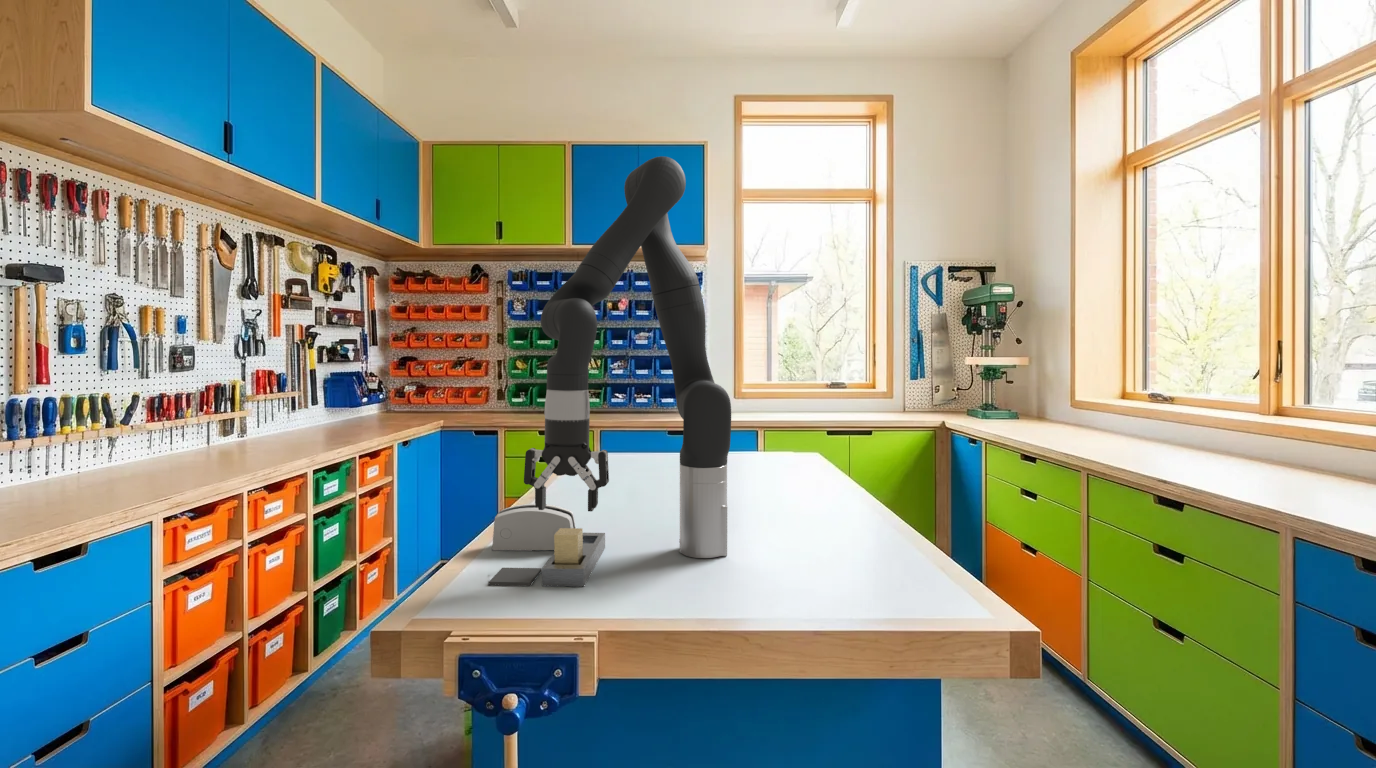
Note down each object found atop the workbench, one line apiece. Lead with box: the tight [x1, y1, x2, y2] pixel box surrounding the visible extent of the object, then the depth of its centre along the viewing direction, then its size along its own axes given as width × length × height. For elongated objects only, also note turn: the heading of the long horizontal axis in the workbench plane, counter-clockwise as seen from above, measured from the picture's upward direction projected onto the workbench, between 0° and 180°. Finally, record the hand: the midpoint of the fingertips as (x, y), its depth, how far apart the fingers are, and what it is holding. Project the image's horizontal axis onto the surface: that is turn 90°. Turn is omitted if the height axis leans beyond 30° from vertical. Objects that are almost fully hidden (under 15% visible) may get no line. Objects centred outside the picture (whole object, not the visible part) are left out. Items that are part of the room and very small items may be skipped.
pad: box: [488, 567, 542, 587], centre depth 109 cm, size 7×7×1 cm
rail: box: [541, 532, 606, 588], centre depth 116 cm, size 7×21×3 cm, turn 178°
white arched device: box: [491, 503, 577, 551], centre depth 126 cm, size 17×5×10 cm, turn 89°
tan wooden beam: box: [553, 527, 584, 565], centre depth 110 cm, size 4×4×8 cm
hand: (566, 509), depth 110 cm, fingers open, 8 cm apart
